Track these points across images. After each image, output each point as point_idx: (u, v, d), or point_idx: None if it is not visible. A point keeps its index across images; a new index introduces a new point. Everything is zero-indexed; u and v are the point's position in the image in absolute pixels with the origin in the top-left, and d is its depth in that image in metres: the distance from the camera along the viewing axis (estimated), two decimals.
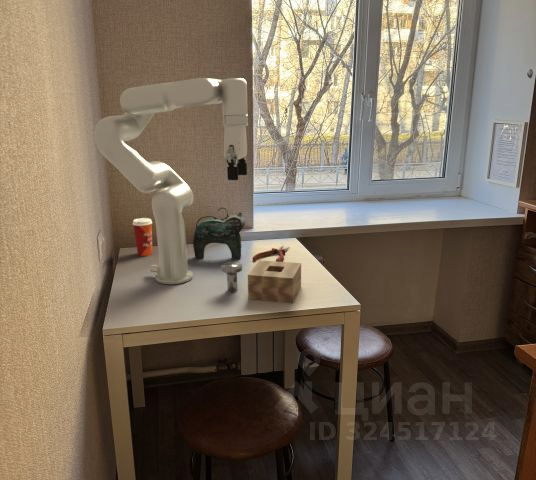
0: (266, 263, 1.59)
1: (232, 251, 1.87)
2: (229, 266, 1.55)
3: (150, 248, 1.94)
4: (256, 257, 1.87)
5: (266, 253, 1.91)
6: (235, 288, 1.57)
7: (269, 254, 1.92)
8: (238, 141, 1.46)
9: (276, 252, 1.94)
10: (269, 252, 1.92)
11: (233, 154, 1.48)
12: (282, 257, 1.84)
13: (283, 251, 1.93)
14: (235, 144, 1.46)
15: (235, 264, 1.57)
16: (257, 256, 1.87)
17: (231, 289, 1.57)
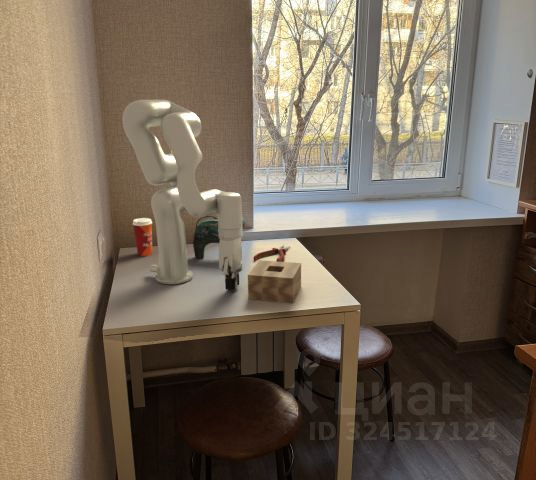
0: (266, 263, 1.59)
1: None
2: None
3: (150, 248, 1.94)
4: (257, 257, 1.87)
5: (267, 253, 1.91)
6: (235, 288, 1.57)
7: (270, 254, 1.92)
8: (233, 254, 1.50)
9: (277, 252, 1.94)
10: (270, 252, 1.92)
11: None
12: (283, 256, 1.85)
13: (284, 251, 1.93)
14: (230, 257, 1.50)
15: None
16: (257, 255, 1.88)
17: None
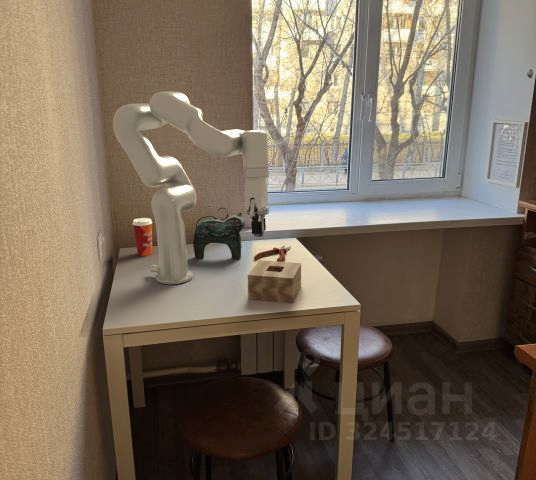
0: (266, 263, 1.59)
1: (232, 251, 1.87)
2: None
3: (150, 248, 1.94)
4: (257, 256, 1.88)
5: (267, 252, 1.92)
6: (262, 233, 1.50)
7: (270, 253, 1.93)
8: (259, 194, 1.43)
9: (277, 251, 1.95)
10: (270, 251, 1.92)
11: None
12: (283, 256, 1.85)
13: (284, 250, 1.93)
14: (256, 197, 1.43)
15: None
16: (258, 255, 1.88)
17: (258, 234, 1.50)
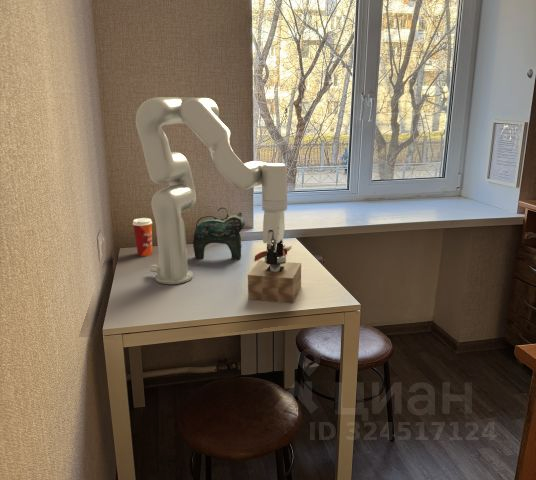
0: (266, 263, 1.59)
1: (232, 251, 1.87)
2: None
3: (150, 248, 1.94)
4: (258, 256, 1.88)
5: None
6: None
7: None
8: (278, 226, 1.45)
9: None
10: None
11: None
12: None
13: (285, 250, 1.94)
14: (275, 229, 1.45)
15: (279, 256, 1.54)
16: (259, 254, 1.88)
17: None
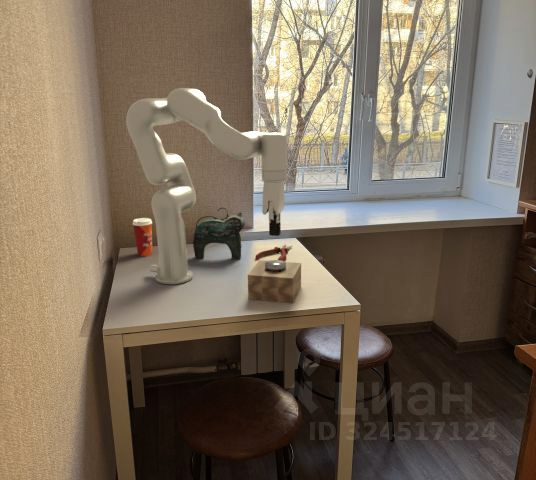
0: None
1: (232, 251, 1.87)
2: (273, 264, 1.53)
3: (150, 248, 1.94)
4: (259, 256, 1.88)
5: (269, 252, 1.93)
6: None
7: (272, 253, 1.94)
8: (277, 197, 1.43)
9: (279, 251, 1.95)
10: (272, 251, 1.93)
11: None
12: (284, 255, 1.86)
13: (286, 250, 1.94)
14: (274, 200, 1.43)
15: (279, 262, 1.55)
16: (259, 254, 1.89)
17: None
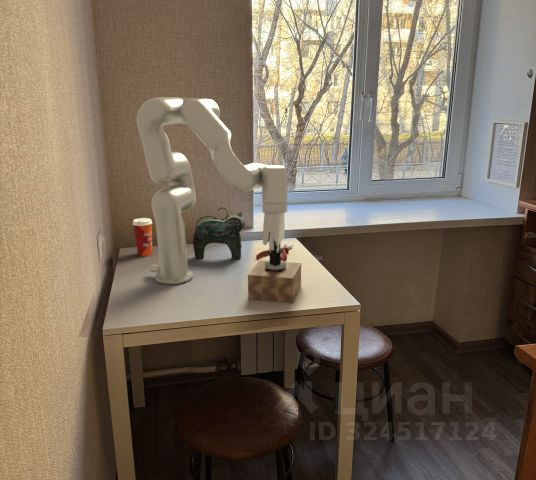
0: None
1: (232, 251, 1.87)
2: None
3: (150, 248, 1.94)
4: (259, 255, 1.89)
5: (269, 251, 1.93)
6: None
7: None
8: (278, 228, 1.46)
9: None
10: None
11: None
12: (285, 255, 1.87)
13: (286, 249, 1.95)
14: (275, 231, 1.45)
15: None
16: (260, 254, 1.89)
17: None
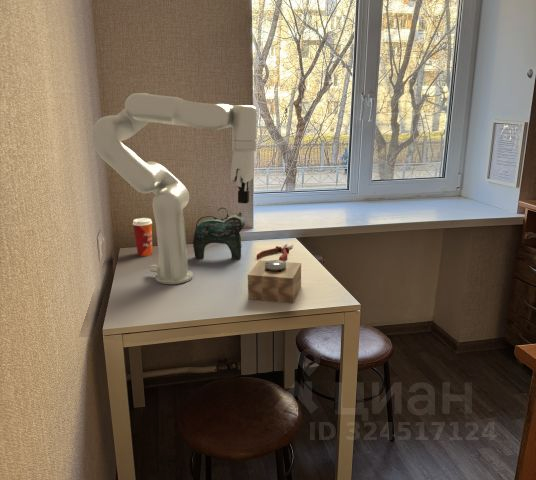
0: None
1: (232, 251, 1.87)
2: (273, 264, 1.53)
3: (150, 248, 1.94)
4: (260, 255, 1.89)
5: (270, 251, 1.93)
6: None
7: (273, 252, 1.94)
8: (245, 165, 1.52)
9: (280, 250, 1.96)
10: (273, 250, 1.94)
11: None
12: (285, 255, 1.87)
13: (287, 249, 1.95)
14: (242, 168, 1.52)
15: (279, 262, 1.55)
16: (260, 253, 1.89)
17: None
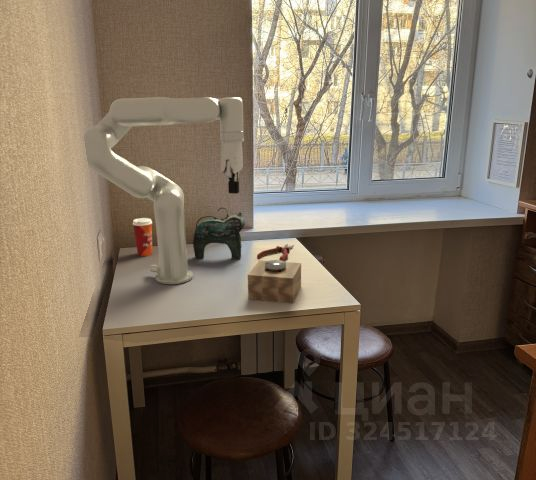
0: None
1: (232, 251, 1.87)
2: (273, 264, 1.53)
3: (150, 248, 1.94)
4: (260, 255, 1.90)
5: (270, 251, 1.94)
6: None
7: (273, 252, 1.95)
8: (234, 156, 1.56)
9: (280, 250, 1.96)
10: (273, 250, 1.94)
11: None
12: (286, 255, 1.87)
13: (287, 249, 1.95)
14: (231, 159, 1.56)
15: (279, 262, 1.55)
16: (261, 253, 1.90)
17: None
